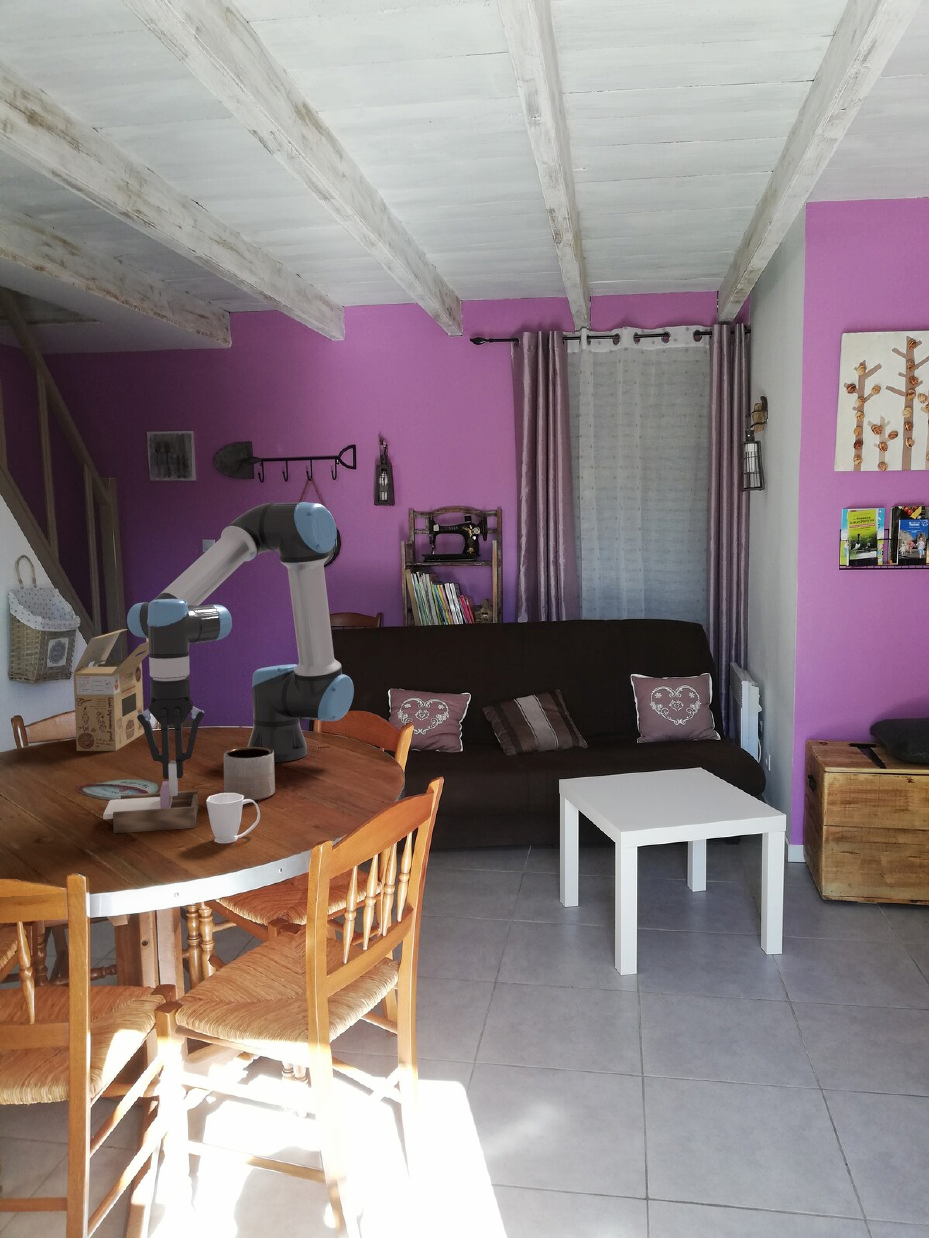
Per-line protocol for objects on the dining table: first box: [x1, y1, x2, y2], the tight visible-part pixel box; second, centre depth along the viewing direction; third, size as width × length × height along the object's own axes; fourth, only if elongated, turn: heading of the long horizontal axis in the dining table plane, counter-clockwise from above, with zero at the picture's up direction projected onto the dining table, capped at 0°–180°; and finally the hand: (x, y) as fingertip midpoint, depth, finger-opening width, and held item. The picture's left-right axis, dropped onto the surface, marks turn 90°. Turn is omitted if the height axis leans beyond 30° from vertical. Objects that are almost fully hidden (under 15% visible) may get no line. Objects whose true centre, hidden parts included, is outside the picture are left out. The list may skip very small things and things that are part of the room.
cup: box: [205, 792, 261, 844], centre depth 173 cm, size 7×10×8 cm
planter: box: [223, 746, 276, 802], centre depth 201 cm, size 11×11×10 cm
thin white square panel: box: [102, 780, 172, 820], centre depth 182 cm, size 12×10×4 cm
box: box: [73, 628, 149, 752], centre depth 249 cm, size 21×20×30 cm
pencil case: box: [112, 790, 199, 834], centre depth 183 cm, size 15×12×4 cm
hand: (173, 793), depth 184 cm, fingers closed
